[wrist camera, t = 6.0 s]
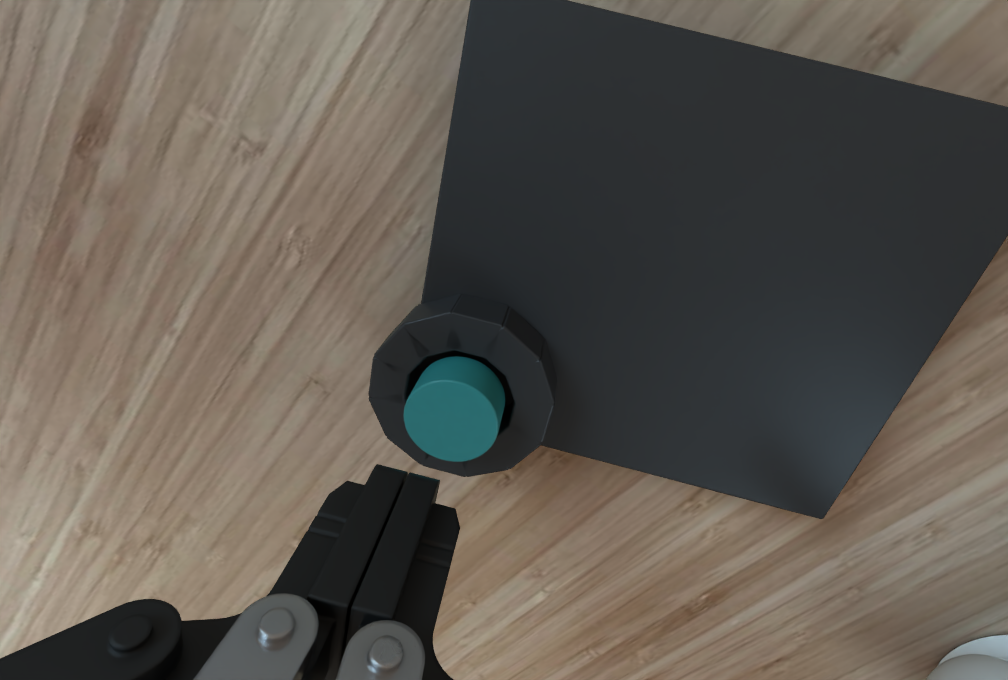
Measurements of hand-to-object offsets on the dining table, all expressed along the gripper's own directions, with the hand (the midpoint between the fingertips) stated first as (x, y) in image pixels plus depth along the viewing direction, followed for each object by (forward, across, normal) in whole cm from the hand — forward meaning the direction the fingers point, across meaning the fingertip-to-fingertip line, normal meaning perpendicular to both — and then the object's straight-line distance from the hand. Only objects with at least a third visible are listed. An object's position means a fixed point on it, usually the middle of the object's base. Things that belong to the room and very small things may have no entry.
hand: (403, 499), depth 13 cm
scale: (+8, -6, -4) cm, 11 cm away
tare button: (+5, 0, 0) cm, 5 cm away
